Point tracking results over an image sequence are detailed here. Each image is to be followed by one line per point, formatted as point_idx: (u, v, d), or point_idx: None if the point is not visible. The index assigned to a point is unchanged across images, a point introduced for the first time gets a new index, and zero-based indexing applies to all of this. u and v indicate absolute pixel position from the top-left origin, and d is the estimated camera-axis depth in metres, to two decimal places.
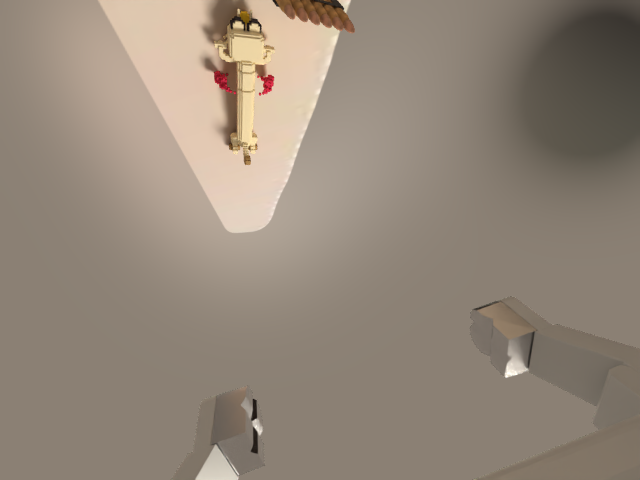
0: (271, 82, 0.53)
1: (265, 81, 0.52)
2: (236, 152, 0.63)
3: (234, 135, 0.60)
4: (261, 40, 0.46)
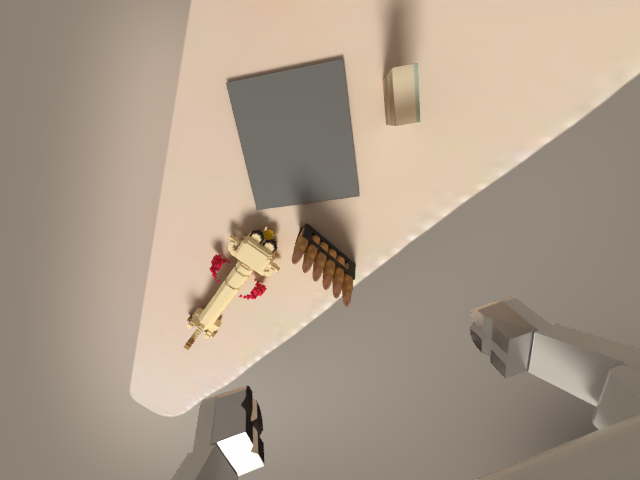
0: (260, 292, 0.50)
1: (254, 288, 0.49)
2: (190, 327, 0.55)
3: (199, 311, 0.54)
4: (268, 258, 0.46)
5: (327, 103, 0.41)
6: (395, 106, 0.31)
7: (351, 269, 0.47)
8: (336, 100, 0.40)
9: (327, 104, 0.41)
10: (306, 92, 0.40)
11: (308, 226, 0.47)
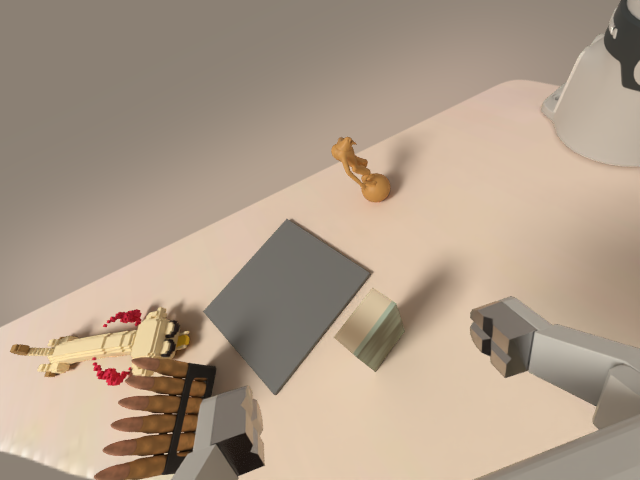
0: (109, 379, 0.39)
1: (111, 369, 0.39)
2: (49, 343, 0.46)
3: (72, 340, 0.46)
4: (149, 354, 0.37)
5: (329, 290, 0.38)
6: (348, 320, 0.26)
7: (180, 463, 0.31)
8: (337, 295, 0.38)
9: (328, 291, 0.38)
10: (323, 269, 0.40)
11: (212, 370, 0.38)
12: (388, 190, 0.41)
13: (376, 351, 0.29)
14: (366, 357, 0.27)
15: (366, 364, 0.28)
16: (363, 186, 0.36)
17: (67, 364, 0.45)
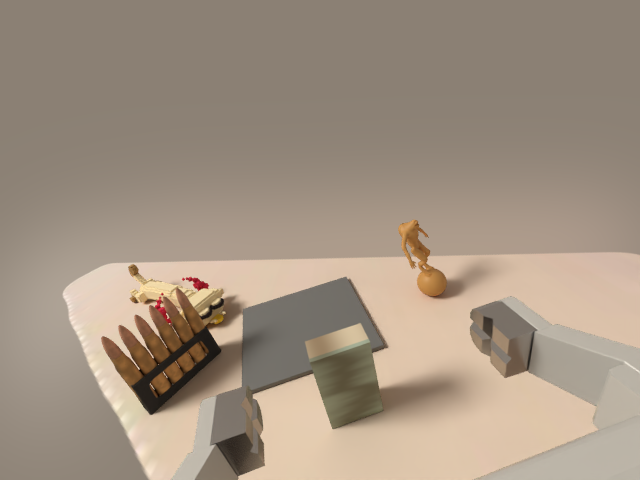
0: None
1: None
2: (148, 280, 0.62)
3: None
4: None
5: None
6: (324, 336, 0.28)
7: (146, 393, 0.36)
8: None
9: None
10: (347, 323, 0.42)
11: (216, 350, 0.43)
12: (441, 287, 0.42)
13: (337, 390, 0.28)
14: (322, 382, 0.27)
15: (321, 394, 0.28)
16: (411, 263, 0.39)
17: (146, 297, 0.59)
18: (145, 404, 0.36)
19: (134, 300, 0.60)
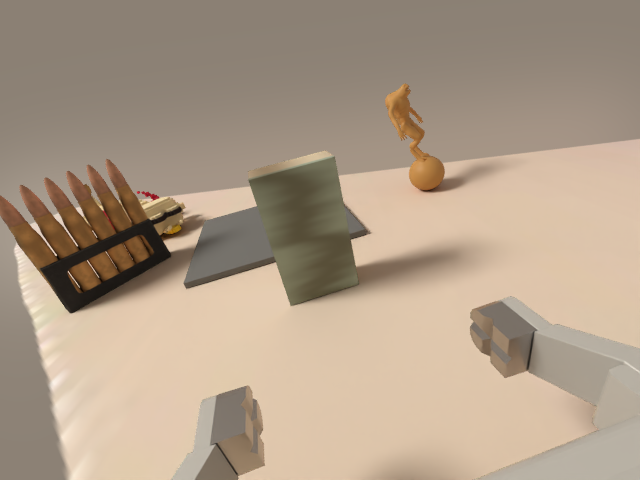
0: None
1: None
2: None
3: None
4: None
5: None
6: (275, 164, 0.21)
7: (63, 283, 0.28)
8: None
9: None
10: None
11: (165, 253, 0.35)
12: (438, 174, 0.34)
13: (292, 239, 0.21)
14: (270, 219, 0.20)
15: (270, 242, 0.20)
16: (400, 133, 0.31)
17: None
18: (62, 297, 0.28)
19: None
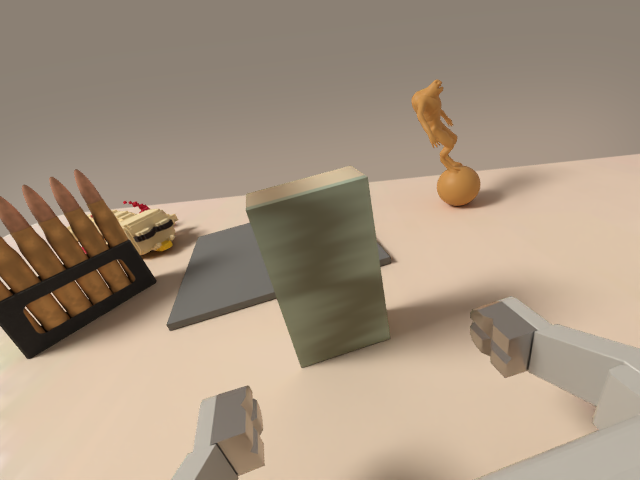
0: None
1: None
2: None
3: None
4: (126, 226, 0.34)
5: None
6: (283, 185, 0.15)
7: (18, 323, 0.23)
8: None
9: None
10: None
11: (149, 279, 0.30)
12: (473, 188, 0.29)
13: (305, 286, 0.15)
14: (275, 262, 0.14)
15: (275, 292, 0.15)
16: (432, 139, 0.26)
17: None
18: (16, 341, 0.23)
19: None
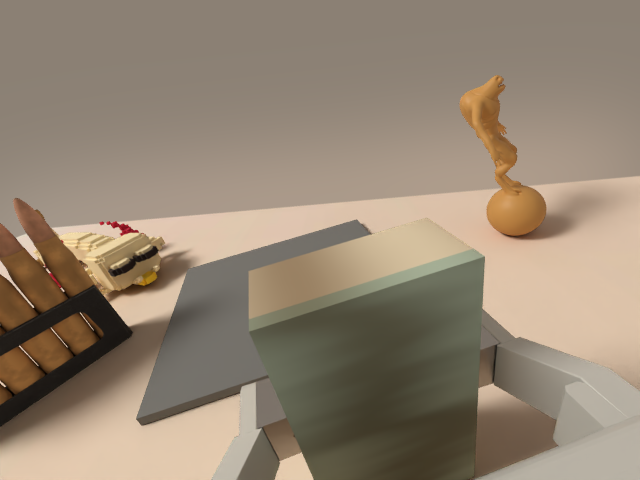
0: None
1: None
2: None
3: None
4: (98, 258, 0.28)
5: None
6: (313, 254, 0.09)
7: None
8: None
9: None
10: None
11: (122, 332, 0.23)
12: (539, 215, 0.22)
13: (353, 432, 0.09)
14: (303, 406, 0.08)
15: (300, 447, 0.08)
16: (495, 155, 0.19)
17: None
18: None
19: None
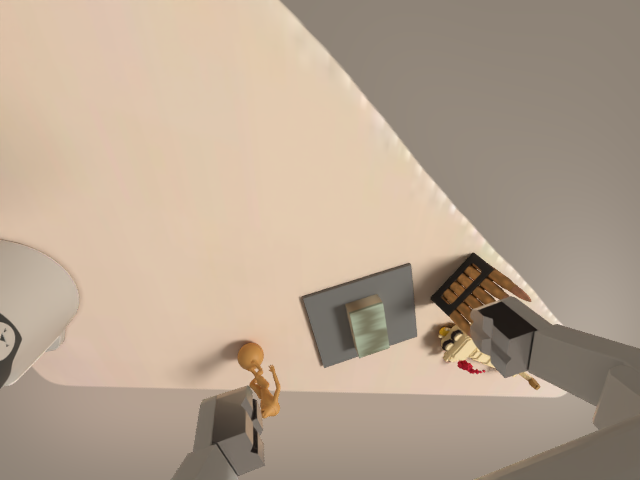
0: None
1: None
2: None
3: None
4: (469, 339, 0.53)
5: (336, 303, 0.48)
6: (356, 301, 0.49)
7: (481, 265, 0.48)
8: (333, 297, 0.48)
9: (337, 303, 0.48)
10: (328, 318, 0.49)
11: (434, 298, 0.52)
12: (244, 349, 0.46)
13: (363, 332, 0.49)
14: (355, 326, 0.48)
15: (354, 334, 0.49)
16: (272, 369, 0.42)
17: None
18: (479, 258, 0.49)
19: None
